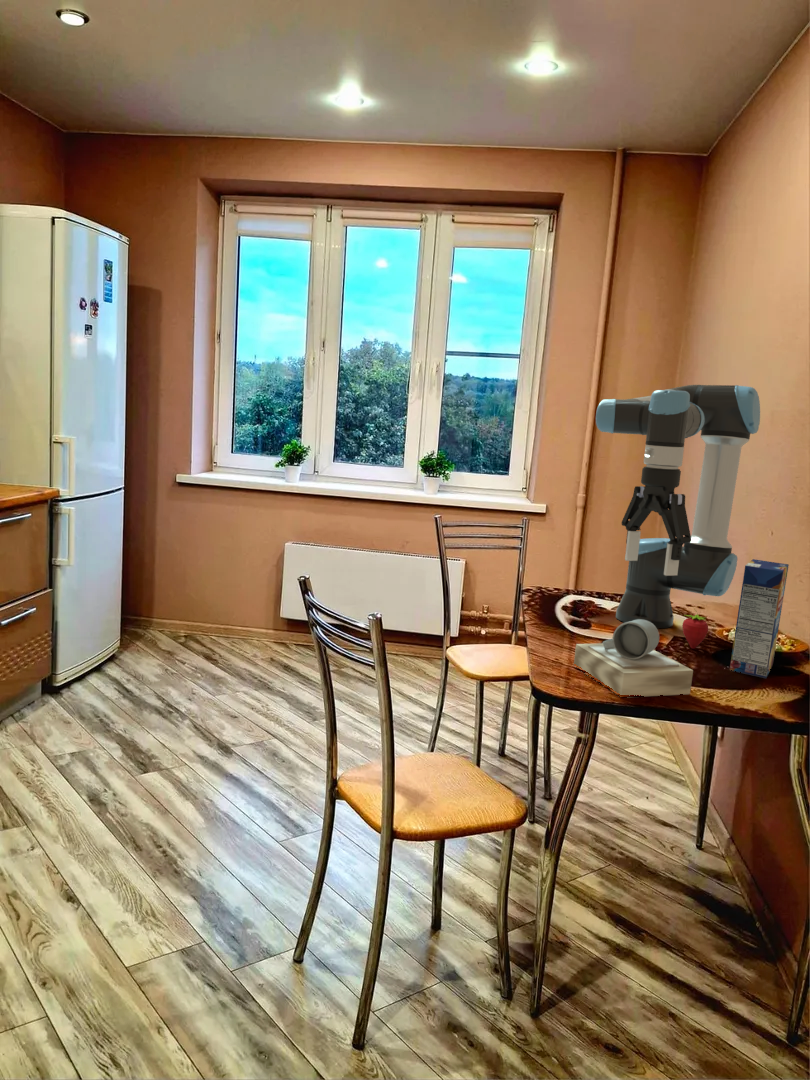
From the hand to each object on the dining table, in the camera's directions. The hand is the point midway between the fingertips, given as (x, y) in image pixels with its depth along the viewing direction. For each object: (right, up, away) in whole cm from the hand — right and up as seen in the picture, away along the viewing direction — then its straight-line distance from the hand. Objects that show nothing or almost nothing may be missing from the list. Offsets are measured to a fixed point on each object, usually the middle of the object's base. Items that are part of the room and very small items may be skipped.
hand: (649, 567), depth 152 cm
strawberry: (+19, -21, +24) cm, 37 cm away
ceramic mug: (-5, -18, -2) cm, 19 cm away
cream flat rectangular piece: (-5, -23, -2) cm, 24 cm away
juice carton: (+27, -24, +13) cm, 38 cm away
